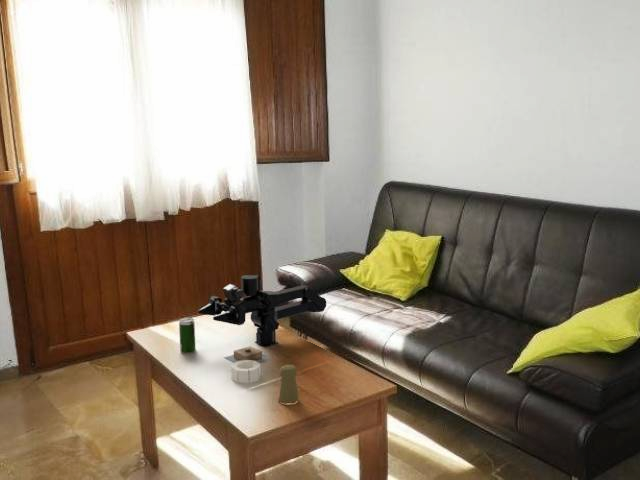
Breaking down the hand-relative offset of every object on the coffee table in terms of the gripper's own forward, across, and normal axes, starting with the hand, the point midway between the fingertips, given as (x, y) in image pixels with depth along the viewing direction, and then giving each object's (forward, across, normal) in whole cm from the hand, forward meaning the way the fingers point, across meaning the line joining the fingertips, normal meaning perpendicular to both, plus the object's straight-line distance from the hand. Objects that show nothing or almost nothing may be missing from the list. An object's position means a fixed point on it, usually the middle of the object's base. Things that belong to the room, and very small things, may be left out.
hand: (205, 315), depth 225 cm
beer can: (+1, -12, +17) cm, 21 cm away
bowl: (-1, +21, +16) cm, 27 cm away
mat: (-11, +8, +17) cm, 22 cm away
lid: (-11, +8, +16) cm, 21 cm away
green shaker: (-1, +43, +17) cm, 46 cm away
